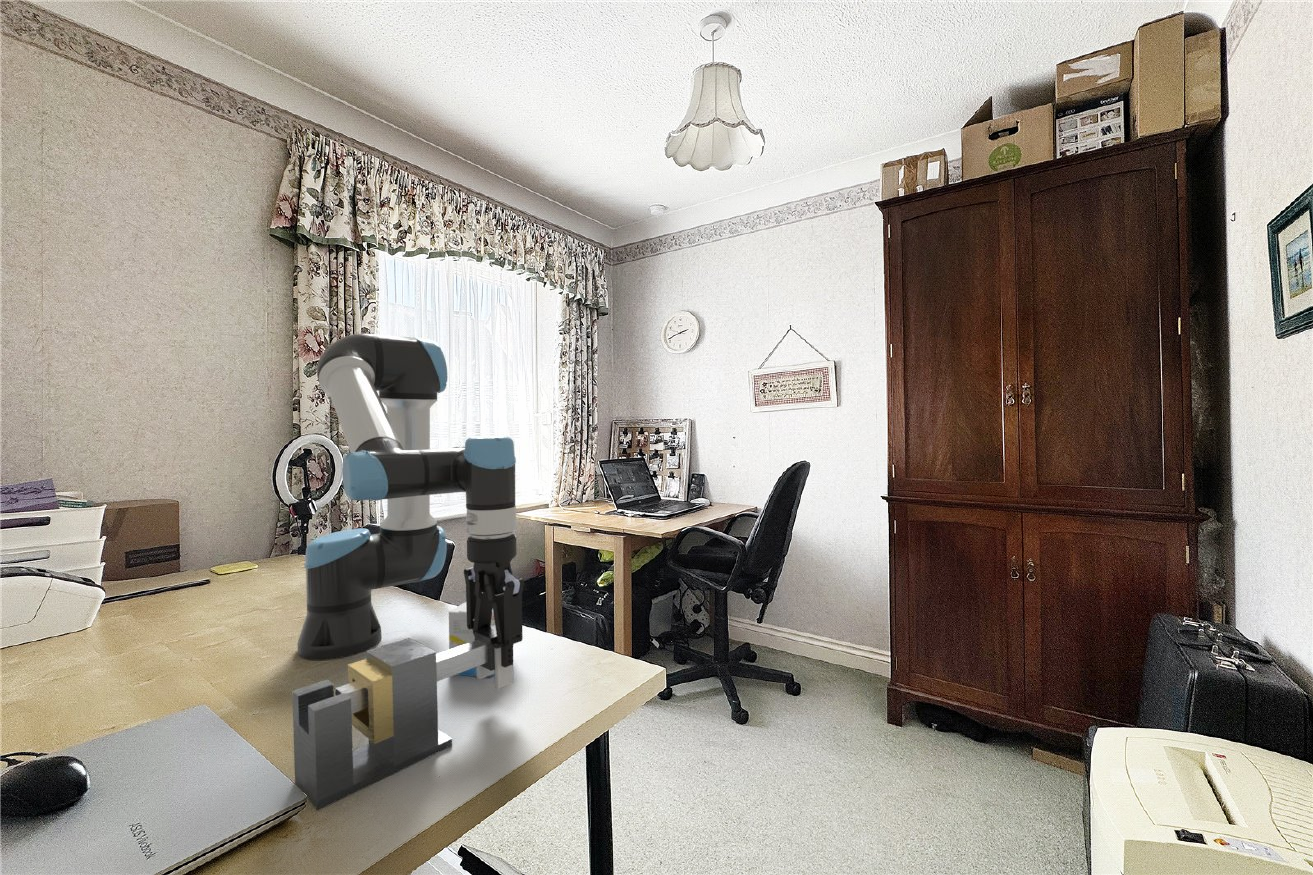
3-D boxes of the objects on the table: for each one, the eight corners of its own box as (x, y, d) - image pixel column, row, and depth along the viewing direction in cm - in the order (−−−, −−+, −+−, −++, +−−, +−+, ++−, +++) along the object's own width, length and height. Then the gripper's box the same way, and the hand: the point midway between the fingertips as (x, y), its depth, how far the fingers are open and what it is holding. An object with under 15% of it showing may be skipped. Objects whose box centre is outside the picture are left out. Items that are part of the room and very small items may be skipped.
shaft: (333, 715, 72) (332, 677, 72) (497, 654, 91) (496, 624, 90) (347, 727, 69) (346, 688, 69) (513, 662, 88) (512, 631, 88)
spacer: (349, 722, 75) (347, 664, 75) (368, 715, 77) (366, 658, 77) (374, 744, 70) (372, 681, 70) (393, 736, 72) (391, 675, 72)
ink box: (491, 678, 99) (489, 613, 99) (448, 674, 101) (446, 611, 100) (512, 658, 107) (511, 598, 107) (472, 655, 109) (471, 596, 109)
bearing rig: (295, 782, 70) (291, 673, 70) (424, 726, 83) (422, 633, 83) (317, 810, 65) (314, 692, 65) (452, 745, 78) (449, 647, 78)
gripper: (441, 531, 90) (444, 672, 91) (503, 545, 79) (506, 707, 79) (482, 524, 96) (485, 658, 96) (545, 537, 84) (548, 688, 85)
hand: (494, 680), depth 88 cm, fingers closed on shaft, 4 cm apart
